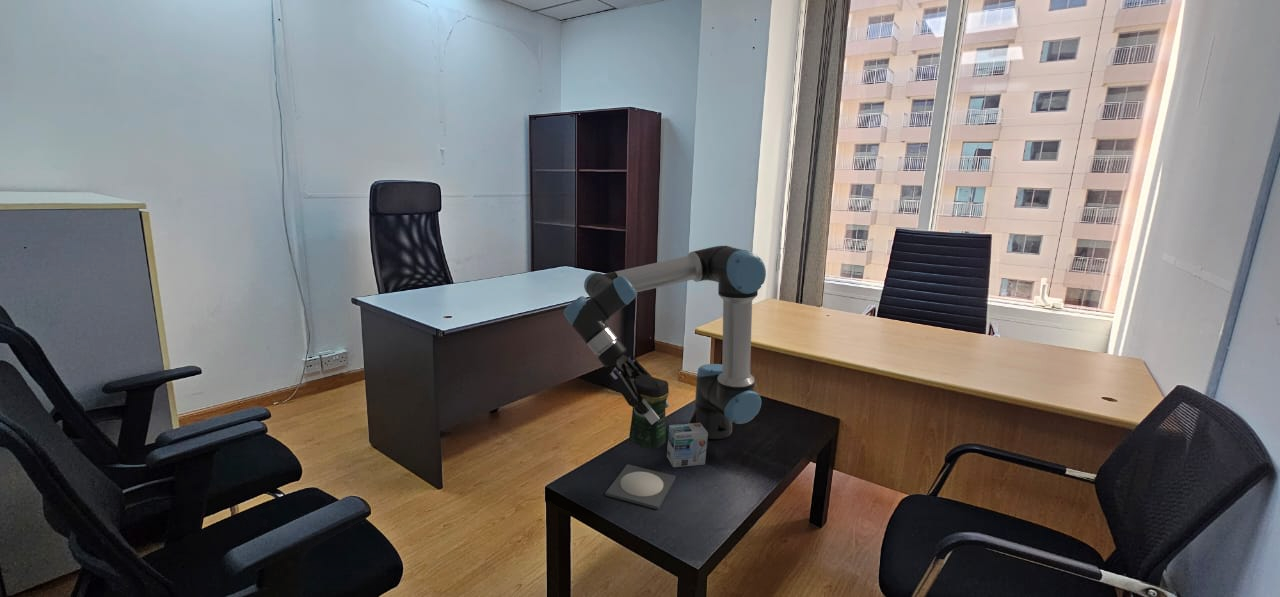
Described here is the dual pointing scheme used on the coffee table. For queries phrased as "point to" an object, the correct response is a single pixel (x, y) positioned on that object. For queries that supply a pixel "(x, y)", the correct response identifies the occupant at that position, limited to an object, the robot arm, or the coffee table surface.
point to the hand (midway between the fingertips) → (660, 414)
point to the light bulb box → (687, 444)
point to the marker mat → (641, 486)
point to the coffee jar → (656, 397)
